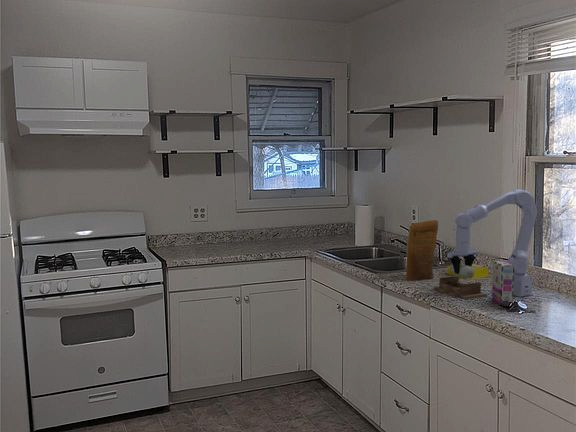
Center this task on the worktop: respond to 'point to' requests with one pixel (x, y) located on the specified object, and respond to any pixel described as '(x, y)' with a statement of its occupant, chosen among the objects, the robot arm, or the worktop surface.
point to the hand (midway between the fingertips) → (462, 272)
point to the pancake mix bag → (421, 250)
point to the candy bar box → (502, 282)
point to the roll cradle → (460, 288)
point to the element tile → (479, 273)
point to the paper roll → (464, 271)
